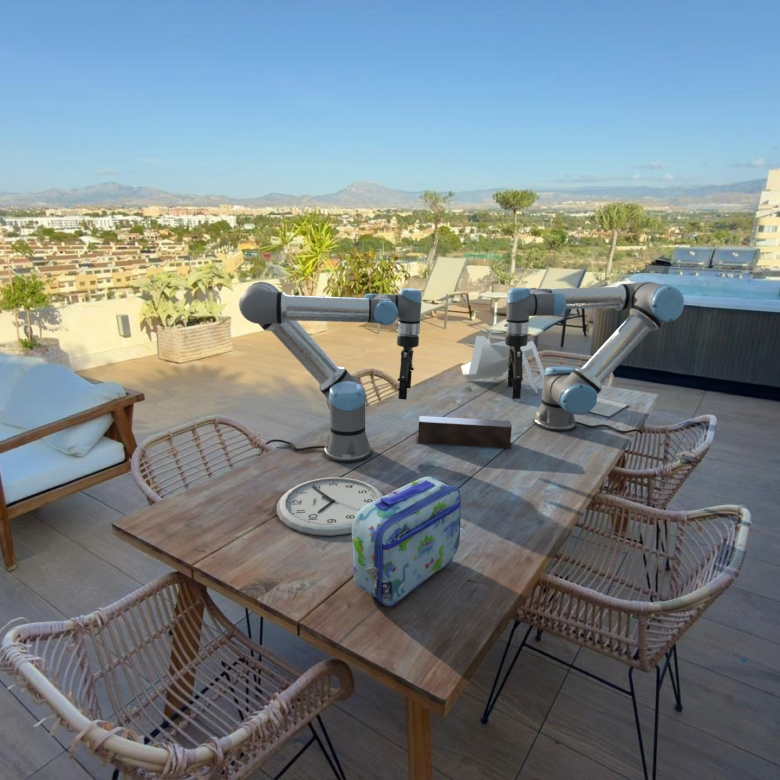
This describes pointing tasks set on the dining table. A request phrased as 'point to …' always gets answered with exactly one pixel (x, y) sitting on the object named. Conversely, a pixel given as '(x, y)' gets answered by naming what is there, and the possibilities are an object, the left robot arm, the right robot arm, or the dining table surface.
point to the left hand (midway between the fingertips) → (404, 393)
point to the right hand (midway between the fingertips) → (513, 392)
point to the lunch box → (405, 538)
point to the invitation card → (607, 407)
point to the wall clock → (325, 505)
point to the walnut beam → (464, 432)
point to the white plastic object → (497, 360)
